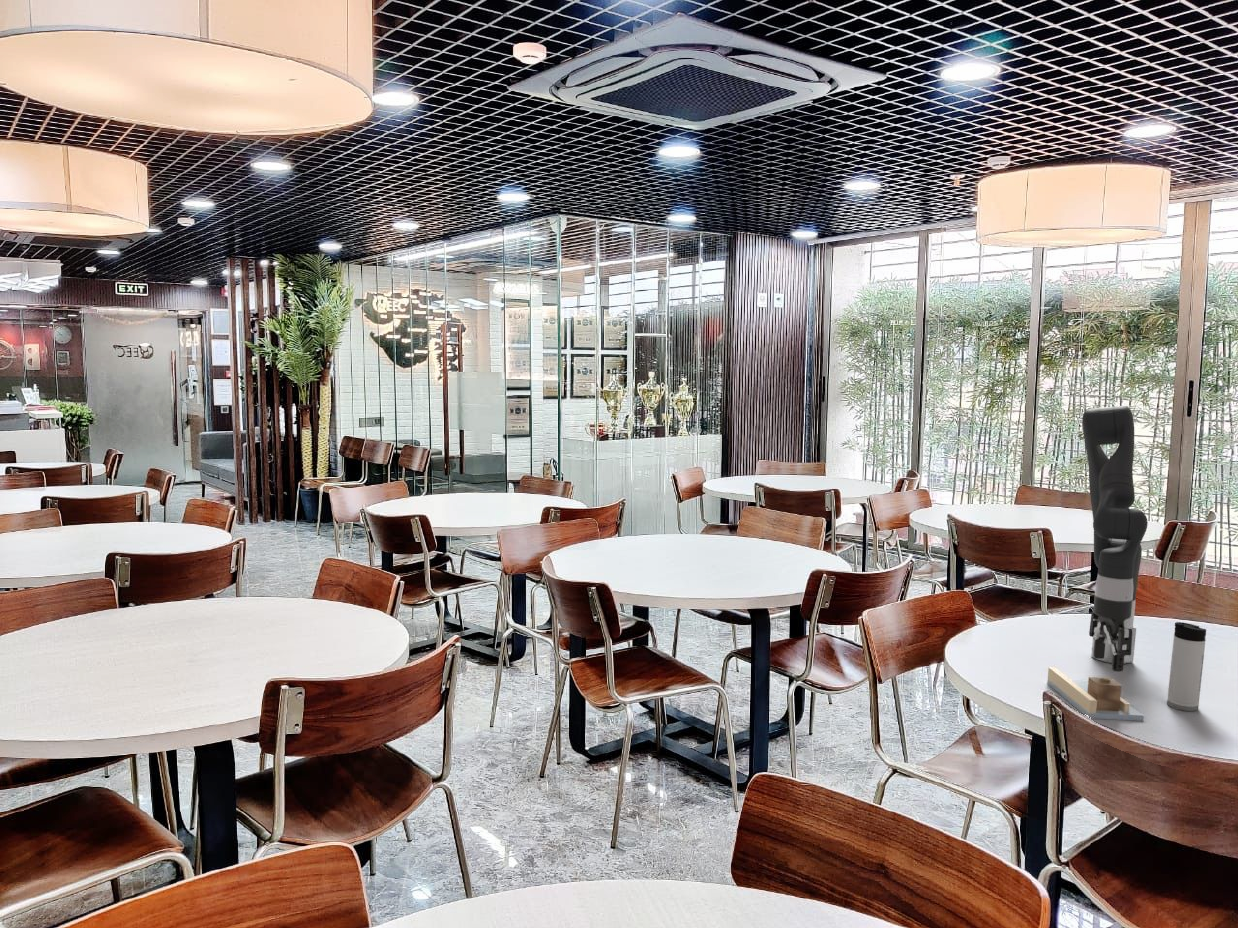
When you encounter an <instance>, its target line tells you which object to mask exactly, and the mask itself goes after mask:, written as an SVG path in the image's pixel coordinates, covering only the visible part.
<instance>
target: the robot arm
mask: <svg viewBox="0 0 1238 928" xmlns="http://www.w3.org/2000/svg"><path fill="white" fill-rule="evenodd" d="M1081 422H1082V434H1083V441H1084V447H1085V452H1086V457H1087V463H1088V464H1087V465H1088V480H1089V481H1088V482H1089V496H1090V505H1091V512H1092V520H1093V521H1092V528H1093V560H1094V564H1095V565H1096V567H1097V568H1098V569H1097V577H1096V580H1095V586H1094V587H1095V588H1094V589H1095V590H1094V598H1093V600H1094V601H1093V611H1092V612H1091V614H1090V622H1089V631H1088V635H1089V637H1090V638H1091V637H1092V643H1091V645H1092V646H1091V655H1090V656H1091V657H1092V658H1094V659H1096V660H1097V661H1101V662H1104V663H1105V662H1106V663H1110V664H1111V667H1110V668H1111V670H1112V671H1113V672H1119V673H1120V672H1123V670H1124V665H1125V664H1129V663H1134V657H1135V647H1136V646H1135V645H1136V636H1137V628H1136V627H1135V626H1134V623H1135V622H1134V621H1135V611H1136V599H1137V589H1138V582H1139V581H1138V580H1139V573H1140V569H1141V561H1142V545H1141V543H1142V541H1143V539H1144V536H1145V535H1146V532H1147V528H1148V524H1149V523H1148V522H1149V521H1148V518H1147V515H1146V513H1144V512H1143V511H1142V510H1140V509H1136V508H1130V507H1132V506H1133V504H1134V503H1135V499H1136V497H1135V496H1136V495H1135V488H1134V487H1135V485H1134V484H1135V483H1134V477H1133V468H1134V467H1133V465H1134V458H1135V457H1134V456H1135V421H1134V415H1133V412H1132V409H1131V408H1130V407H1128V406H1126V405H1117V406H1116V405H1115V406H1107V407H1106V406H1104V407H1102V406H1101V407H1094V408H1089V409H1086V410H1085V411H1083V414H1082V419H1081ZM1115 444H1116V445H1118V446H1117V448H1116V450H1115V451H1114V453H1113V454H1112V455H1111V456H1110V458H1109V457H1108V456H1107V455H1106V453H1105V452H1104V450H1103V447H1102V446H1104V445H1105V446H1106V445H1115Z"/></svg>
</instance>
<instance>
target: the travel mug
mask: <svg viewBox="0 0 1238 928" xmlns="http://www.w3.org/2000/svg"><path fill="white" fill-rule="evenodd" d="M1206 636H1207V629H1206V628H1202V627H1200V626H1199V625H1195V624H1193V623H1187V622H1181V621H1176V622H1175V623H1174V633H1173V640H1172V652H1171V660H1170V661H1171V662H1170V671H1169V679H1168V680H1169V681H1168V690H1167V701H1166V703H1167V705H1168V706H1169V707H1171V708H1173V709H1176V710H1180V711H1185V712H1196V711H1198V710H1199V705H1200V698H1201V697H1200V695H1201V687H1202V686H1201V685H1202V676H1203V668H1204V659H1205V658H1204V657H1205V648H1206V641H1207V640H1206V639H1207V638H1206Z"/></svg>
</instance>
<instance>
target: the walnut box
mask: <svg viewBox="0 0 1238 928" xmlns="http://www.w3.org/2000/svg"><path fill="white" fill-rule="evenodd" d="M1087 681H1088V691H1087V693H1088V694H1089V695H1091V696H1092V697H1093V698H1094V699H1096V700H1097V708H1096V710H1102V711H1119V707H1120V697H1121V698H1122V695H1121V694H1122V684H1120V683H1118V682H1117V681H1116V680H1115V679H1113V678H1112V677H1097V676H1096V677H1095V676H1094V677H1093V676H1091V677H1090V676H1088V680H1087Z"/></svg>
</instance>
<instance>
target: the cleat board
mask: <svg viewBox="0 0 1238 928" xmlns="http://www.w3.org/2000/svg"><path fill="white" fill-rule="evenodd" d="M1046 682H1047V683H1046V684H1047V685H1048V686H1050V687H1051V688H1052V689H1053V690H1054V691H1055V692H1057V693H1058V694H1059V695H1061V697H1062V698H1064V699H1065V700H1066V701H1068V702H1069V704H1071V705H1072V706H1074V707H1075V708H1076V709H1077V710H1078V711H1079V712H1080V713H1082V714H1083V713H1084V714H1086V715H1088V716H1089V717H1091V718H1090V719H1093V720H1119V721H1123V720H1124V721H1141V722H1142V721H1143V722H1144V718H1145V716H1144V714H1143V713H1141V712H1140V711H1138V709H1136V708H1135V707H1133V706H1131V703H1129V702H1128V701H1126V699H1124V698H1123V697H1122V696H1121V697H1120V707H1119V711H1102V710H1096V708H1097V700H1096V699H1094V698H1093V697H1092V696H1091V695H1089V694H1088V693H1087V691H1088V680H1087V679H1085V680H1084V679H1083V680H1082V679H1080V680H1079V679H1070V678H1069V677H1067V676H1066V674H1064V673H1063V672H1061V671H1060V670H1059V669H1057V668H1056V667H1053V666H1050V667H1049V666H1048V671H1047V681H1046ZM1084 714H1083V715H1084Z"/></svg>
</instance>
